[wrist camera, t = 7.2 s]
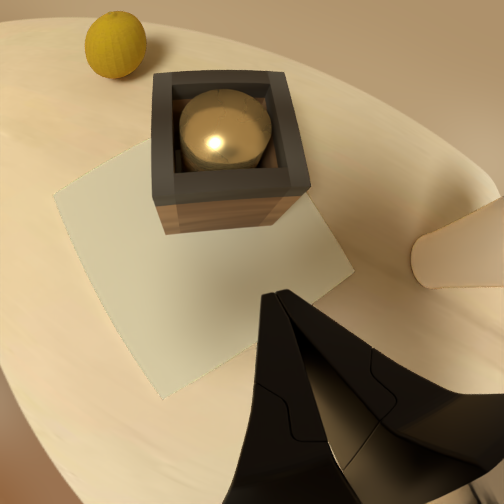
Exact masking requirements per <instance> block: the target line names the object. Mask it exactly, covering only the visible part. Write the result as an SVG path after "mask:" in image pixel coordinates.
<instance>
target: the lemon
mask: <svg viewBox="0 0 504 504" xmlns="http://www.w3.org/2000/svg"><path fill="white" fill-rule="evenodd" d="M146 44H147V43H146V36H145V31H144V28H143V26H142V24H141V23H140V21H139V20H138V19H137V18H136V17H135V16H134V15H132V14H130V13H127V12H123V11H114V12H108V13H107V14H105V15H103V16H101V17H100V18H98V19H97V20H96V21H95V22H94V23H93V24H92V25H91V27H90V28H89V30H88V32H87V35H86V39H85V53H86V58H87V61H88V63H89V65H90V67H91V68H92V69H93V70H94V72H96V73H97V74H98V75H100V76H102V77H106V78H120V77H124V76H126V75H128V74H130V73H131V72H133V71H134V70H135V69H136V68H137V67H138V66H139V65H140V63H141V61H142V60H143V58H144V55H145V51H146Z"/></svg>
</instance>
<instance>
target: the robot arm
mask: <svg viewBox="0 0 504 504" xmlns="http://www.w3.org/2000/svg"><path fill="white" fill-rule="evenodd" d="M328 442H329V443H328ZM329 444H330V446H331V448H332V450H333V452H334V454H335V456H336V458H337V460H338V462H339V465H340V467H341V469H342V470H343V472H342V471H341V469H340V468H339V466H338V465H337V463H336V461H335V459H334V457H333V454H332V451H331V449H330V446H329ZM343 473H344V474H343ZM344 475H345V476H344ZM222 504H504V394H460V393H455V392H452V391H449V390H447V389H445V388H443V387H441V386H439V385H437V384H435V383H433V382H431V381H429V380H427V379H425V378H423V377H421V376H419V375H418V374H416V373H414V372H412V371H410V370H408V369H407V368H405V367H403V366H401V365H399V364H398V363H396V362H394V361H393V360H391V359H390V358H388V357H387V356H385V355H384V354H382V353H381V352H379V351H378V350H376V349H375V348H372V346H370V345H369V344H367V343H366V342H364V341H363V340H362V339H360V338H359V337H357V336H356V335H354V334H353V333H351V332H350V331H348V330H347V329H346V328H344V327H343V326H341V325H340V324H338V323H337V322H335V321H334V320H333V319H331V318H330V317H328V316H327V315H325V314H324V313H322V312H321V311H320V310H318V309H317V308H315V307H314V306H312V305H311V304H310V303H308V302H307V301H305V300H304V299H302V298H301V297H299V296H298V295H297V294H295V293H294V292H292V291H291V290H289V289H283V290H279V291H276V292H275V293H274V292H270V293H265V294H262V295H261V301H260V314H259V327H258V340H257V352H256V365H255V377H254V387H253V398H252V406H251V413H250V417H249V422H248V426H247V431H246V434H245V438H244V442H243V446H242V449H241V453H240V457H239V460H238V464H237V468H236V471H235V474H234V477H233V480H232V483H231V485H230V488H229V490H228V492H227V494H226V496H225V498H224V500H223V502H222Z"/></svg>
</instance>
